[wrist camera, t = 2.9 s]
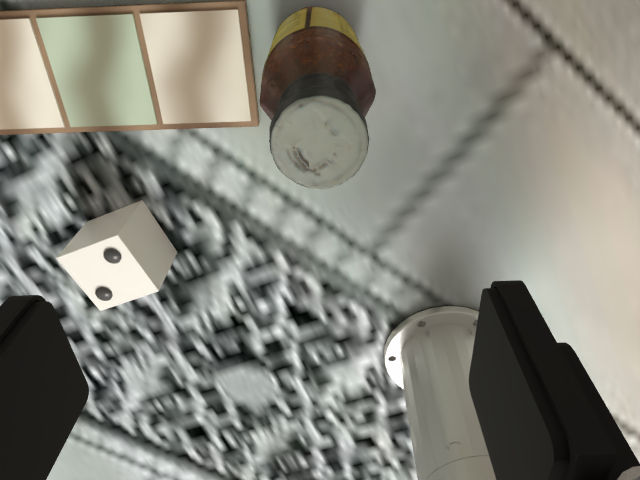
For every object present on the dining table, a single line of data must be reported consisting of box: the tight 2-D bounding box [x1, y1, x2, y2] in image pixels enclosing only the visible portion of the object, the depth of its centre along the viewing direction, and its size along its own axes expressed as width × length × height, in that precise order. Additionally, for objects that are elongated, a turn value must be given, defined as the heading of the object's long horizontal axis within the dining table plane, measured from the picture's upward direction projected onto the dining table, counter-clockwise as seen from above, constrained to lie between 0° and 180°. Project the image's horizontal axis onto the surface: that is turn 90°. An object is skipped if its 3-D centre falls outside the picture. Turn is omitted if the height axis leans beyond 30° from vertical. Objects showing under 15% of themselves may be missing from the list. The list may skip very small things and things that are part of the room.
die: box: [56, 200, 177, 311], centre depth 43 cm, size 6×6×6 cm
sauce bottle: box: [260, 7, 376, 189], centre depth 28 cm, size 7×6×20 cm
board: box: [0, 0, 259, 135], centre depth 37 cm, size 23×9×1 cm, turn 92°
